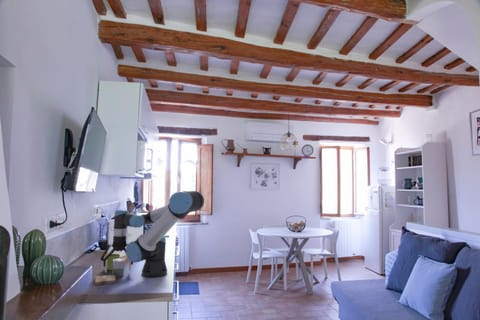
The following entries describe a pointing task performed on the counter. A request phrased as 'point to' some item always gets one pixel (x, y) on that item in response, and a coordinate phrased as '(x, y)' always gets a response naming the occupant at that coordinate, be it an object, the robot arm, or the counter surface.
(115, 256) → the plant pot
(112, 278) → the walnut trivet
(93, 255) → the counter surface
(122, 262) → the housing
